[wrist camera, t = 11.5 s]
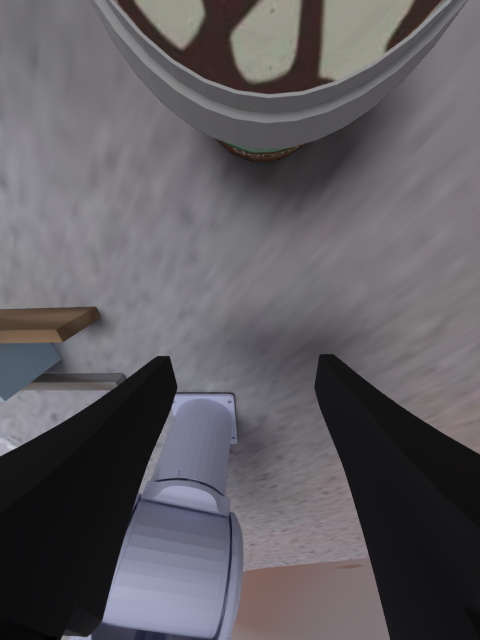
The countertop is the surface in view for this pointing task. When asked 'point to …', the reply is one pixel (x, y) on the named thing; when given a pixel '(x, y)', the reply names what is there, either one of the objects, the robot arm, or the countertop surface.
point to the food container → (273, 61)
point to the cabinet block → (23, 365)
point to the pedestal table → (54, 328)
